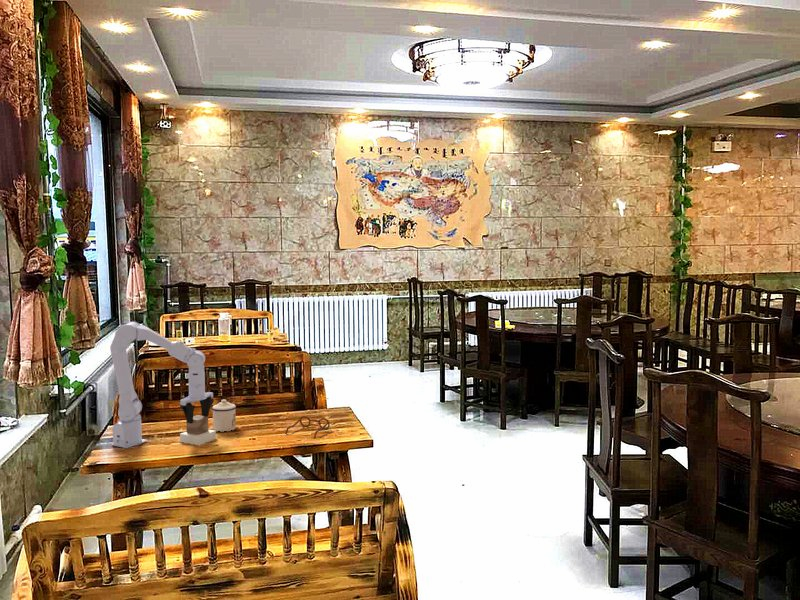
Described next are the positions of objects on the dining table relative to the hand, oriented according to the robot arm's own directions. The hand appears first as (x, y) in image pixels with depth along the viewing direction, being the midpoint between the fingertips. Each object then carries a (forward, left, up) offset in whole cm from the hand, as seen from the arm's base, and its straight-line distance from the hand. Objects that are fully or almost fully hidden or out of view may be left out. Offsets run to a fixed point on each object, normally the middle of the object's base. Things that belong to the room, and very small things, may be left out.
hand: (197, 420), depth 244 cm
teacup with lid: (+17, +3, -8) cm, 19 cm away
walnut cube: (0, 0, -4) cm, 5 cm away
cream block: (0, 0, -8) cm, 8 cm away
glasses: (+28, -29, -8) cm, 41 cm away
